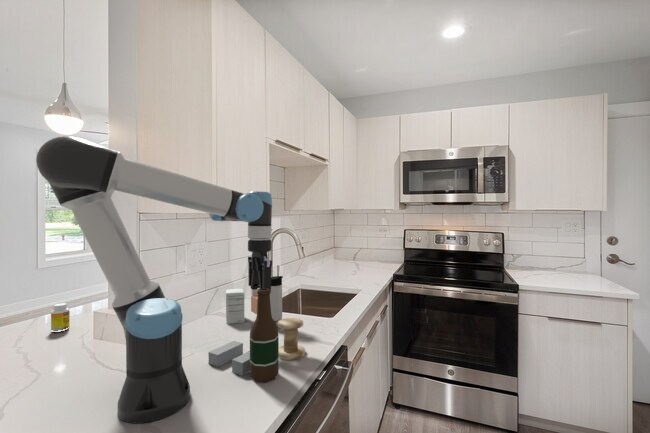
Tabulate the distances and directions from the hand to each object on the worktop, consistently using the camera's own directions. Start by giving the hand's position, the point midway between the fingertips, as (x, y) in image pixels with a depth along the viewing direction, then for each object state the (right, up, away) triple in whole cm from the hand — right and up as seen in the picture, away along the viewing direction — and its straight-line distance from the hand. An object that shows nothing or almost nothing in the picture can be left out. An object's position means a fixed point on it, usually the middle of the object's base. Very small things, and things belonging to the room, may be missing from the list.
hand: (259, 310), depth 106 cm
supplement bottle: (-80, -14, +19) cm, 84 cm away
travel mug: (+2, -13, +23) cm, 27 cm away
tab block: (0, 0, 0) cm, 1 cm away
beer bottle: (+5, -13, -16) cm, 22 cm away
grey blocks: (-5, -13, -8) cm, 16 cm away
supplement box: (-16, -13, +31) cm, 37 cm away
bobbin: (+11, -13, -2) cm, 17 cm away
